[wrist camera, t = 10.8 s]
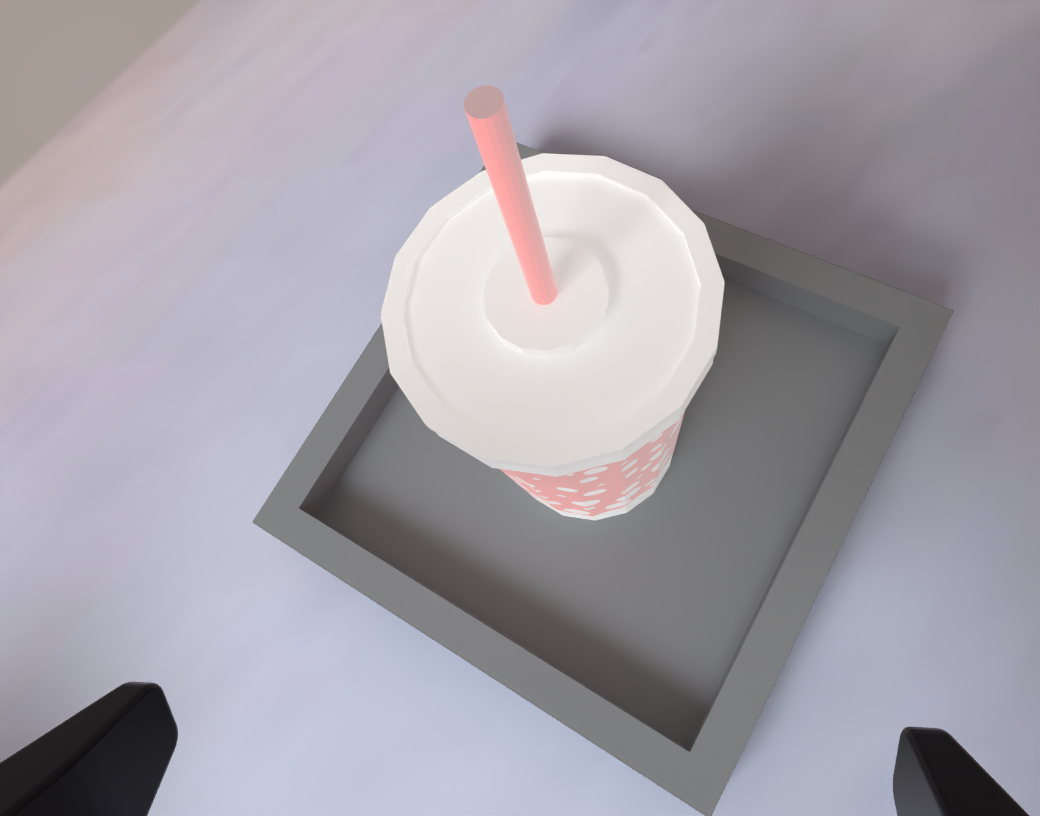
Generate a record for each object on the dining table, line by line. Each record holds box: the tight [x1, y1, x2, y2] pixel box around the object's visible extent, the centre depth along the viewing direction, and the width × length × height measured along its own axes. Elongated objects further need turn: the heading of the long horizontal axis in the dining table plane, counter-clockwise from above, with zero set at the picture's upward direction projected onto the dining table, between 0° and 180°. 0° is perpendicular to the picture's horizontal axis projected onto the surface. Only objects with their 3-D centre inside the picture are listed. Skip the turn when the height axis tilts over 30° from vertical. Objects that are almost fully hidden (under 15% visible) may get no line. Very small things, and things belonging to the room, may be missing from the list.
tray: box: [253, 142, 953, 816], centre depth 22 cm, size 14×14×2 cm
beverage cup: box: [381, 86, 725, 520], centre depth 15 cm, size 6×6×14 cm
